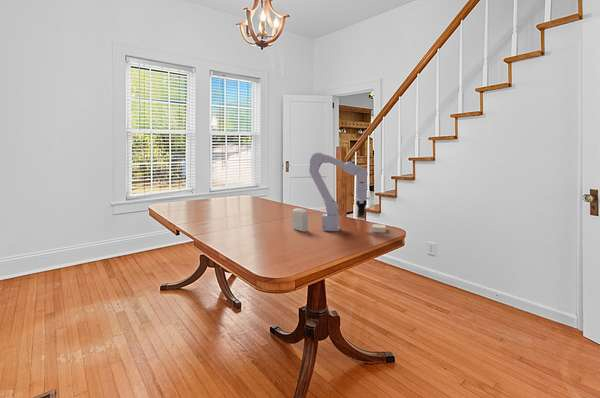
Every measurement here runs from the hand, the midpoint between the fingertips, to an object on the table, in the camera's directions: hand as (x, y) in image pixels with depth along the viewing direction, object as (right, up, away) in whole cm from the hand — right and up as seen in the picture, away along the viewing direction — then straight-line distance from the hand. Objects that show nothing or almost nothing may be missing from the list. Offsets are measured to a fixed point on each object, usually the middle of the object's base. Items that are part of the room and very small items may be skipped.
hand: (361, 214), depth 179 cm
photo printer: (-34, -9, +5) cm, 35 cm away
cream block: (+10, -9, 0) cm, 14 cm away
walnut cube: (0, -2, 0) cm, 2 cm away
